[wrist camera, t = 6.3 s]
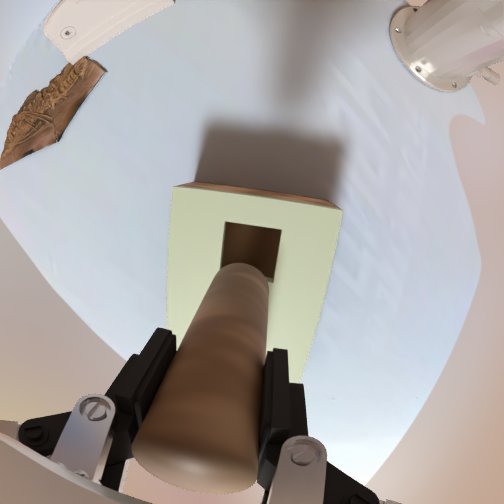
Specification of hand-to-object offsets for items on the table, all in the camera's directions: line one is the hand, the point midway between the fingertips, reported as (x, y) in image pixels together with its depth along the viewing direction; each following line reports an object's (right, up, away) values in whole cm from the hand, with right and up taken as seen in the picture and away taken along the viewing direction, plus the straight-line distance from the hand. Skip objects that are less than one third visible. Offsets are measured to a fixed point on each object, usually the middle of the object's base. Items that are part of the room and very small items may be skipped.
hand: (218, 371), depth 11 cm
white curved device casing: (-17, +36, +15) cm, 43 cm away
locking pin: (+1, +2, +7) cm, 8 cm away
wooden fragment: (-29, +24, +20) cm, 43 cm away
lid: (0, -1, +18) cm, 18 cm away
